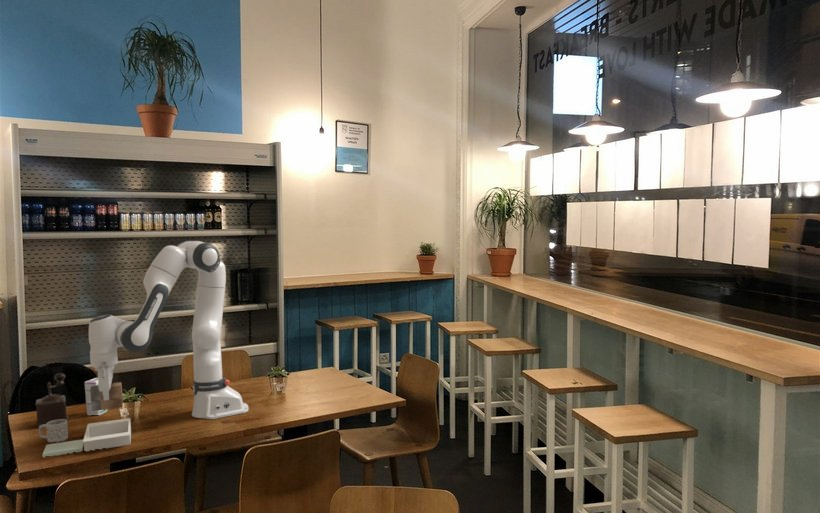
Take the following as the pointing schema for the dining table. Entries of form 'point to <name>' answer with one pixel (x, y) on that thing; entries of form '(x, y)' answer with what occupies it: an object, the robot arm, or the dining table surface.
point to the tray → (107, 434)
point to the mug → (55, 430)
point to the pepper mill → (52, 404)
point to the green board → (63, 448)
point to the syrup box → (88, 397)
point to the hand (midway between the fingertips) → (107, 397)
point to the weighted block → (102, 404)
